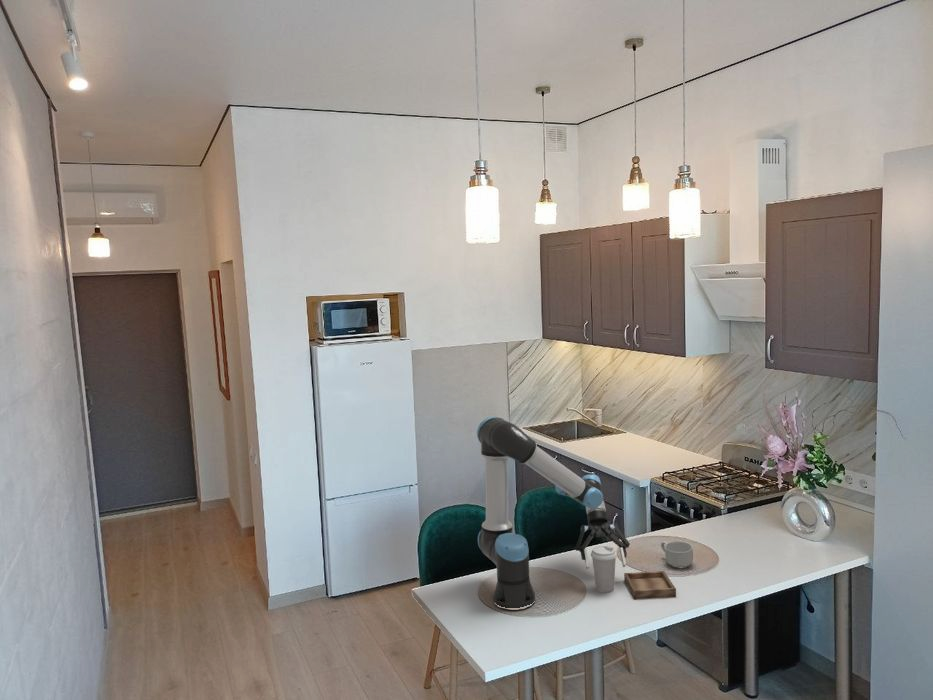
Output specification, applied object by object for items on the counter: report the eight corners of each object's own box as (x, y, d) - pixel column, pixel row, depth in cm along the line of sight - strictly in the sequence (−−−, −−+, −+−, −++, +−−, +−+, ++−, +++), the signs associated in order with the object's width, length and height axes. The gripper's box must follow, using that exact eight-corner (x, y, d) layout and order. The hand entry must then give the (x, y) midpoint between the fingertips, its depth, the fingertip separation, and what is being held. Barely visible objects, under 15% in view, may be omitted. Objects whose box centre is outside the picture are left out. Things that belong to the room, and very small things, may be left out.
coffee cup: (618, 595, 251) (617, 555, 249) (591, 593, 253) (590, 554, 251) (618, 583, 260) (616, 544, 259) (592, 582, 262) (590, 544, 261)
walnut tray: (634, 599, 247) (633, 591, 247) (624, 580, 262) (624, 573, 262) (676, 596, 247) (675, 588, 247) (664, 578, 262) (663, 570, 262)
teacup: (699, 567, 270) (699, 547, 269) (676, 573, 266) (676, 553, 265) (676, 554, 283) (675, 535, 282) (654, 560, 279) (653, 541, 278)
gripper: (627, 515, 271) (638, 568, 258) (563, 519, 271) (571, 572, 258) (630, 507, 265) (641, 560, 252) (565, 511, 265) (573, 565, 252)
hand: (606, 567), depth 255 cm, fingers open, 13 cm apart
